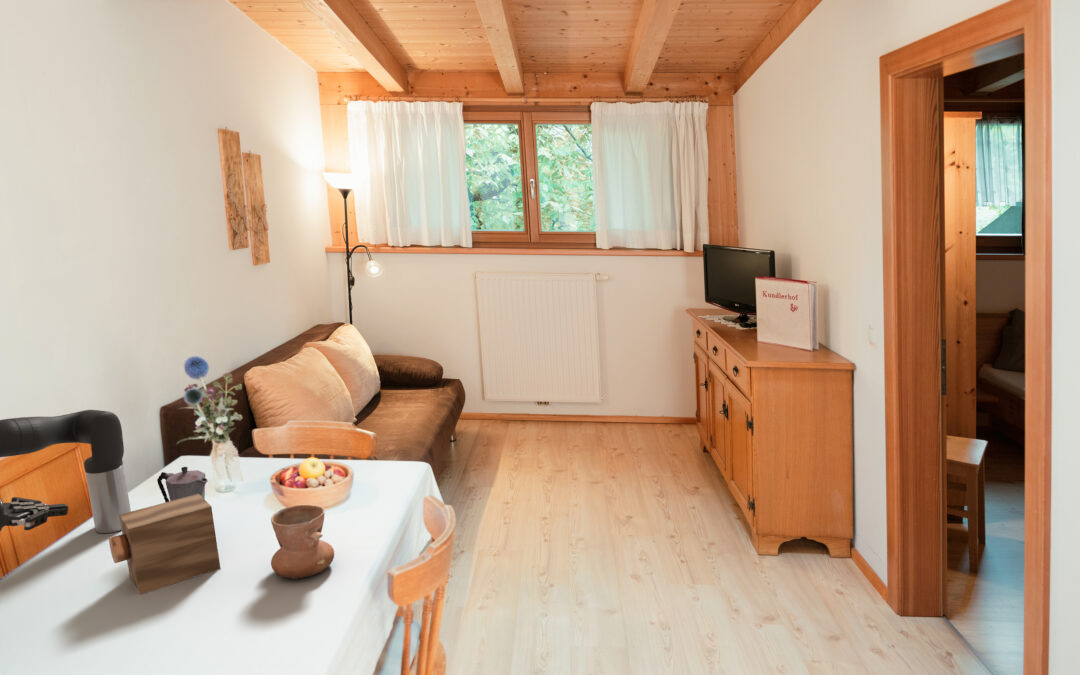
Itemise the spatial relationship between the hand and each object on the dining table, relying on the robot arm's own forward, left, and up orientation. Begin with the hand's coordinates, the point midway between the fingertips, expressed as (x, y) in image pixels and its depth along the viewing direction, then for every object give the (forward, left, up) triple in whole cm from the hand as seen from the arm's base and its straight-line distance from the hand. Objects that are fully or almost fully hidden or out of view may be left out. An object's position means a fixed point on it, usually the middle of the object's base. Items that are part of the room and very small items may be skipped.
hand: (66, 509), depth 178 cm
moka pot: (-19, +28, -23) cm, 40 cm away
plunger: (-1, +18, -16) cm, 24 cm away
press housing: (-1, +20, -23) cm, 30 cm away
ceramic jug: (+19, +44, -23) cm, 53 cm away
